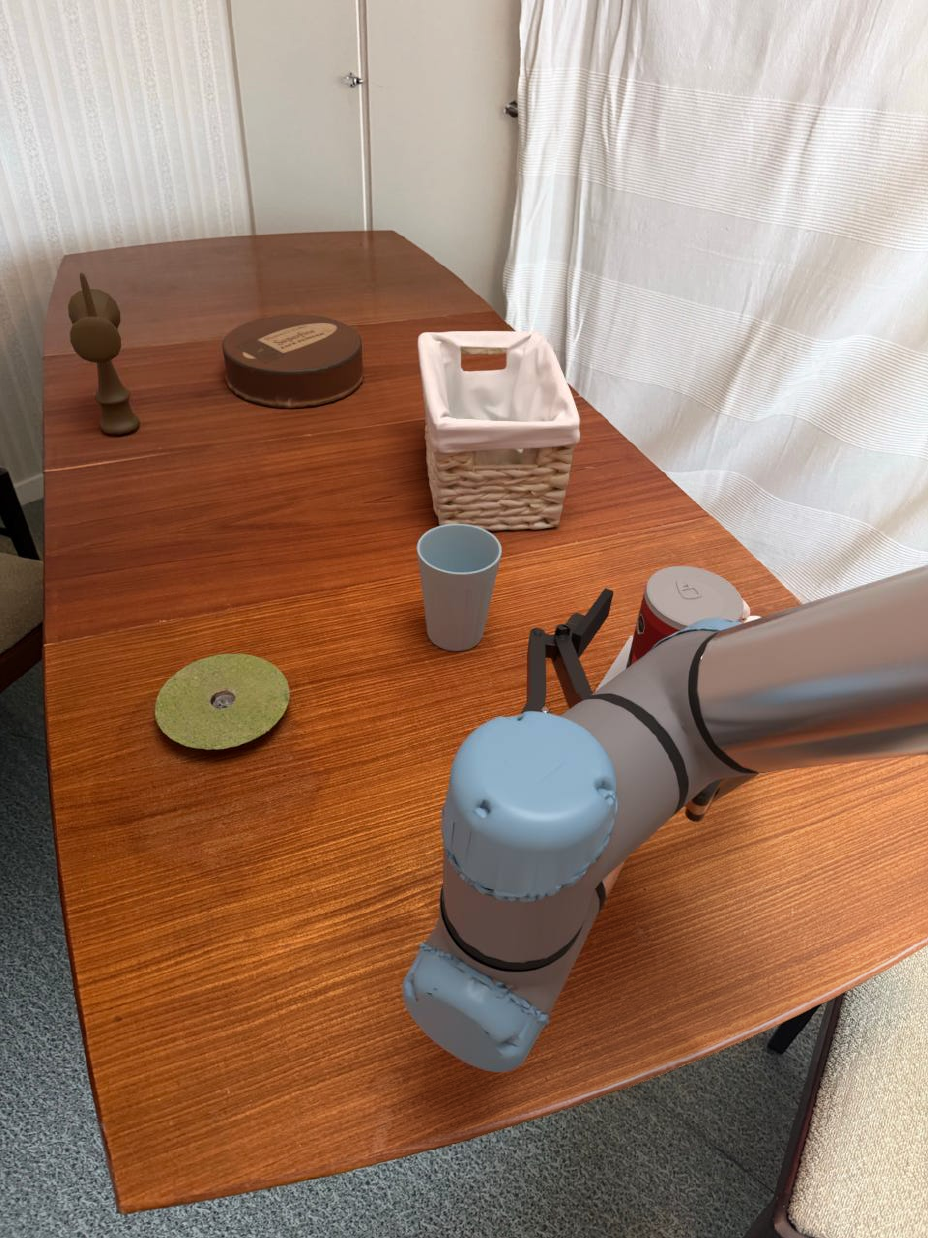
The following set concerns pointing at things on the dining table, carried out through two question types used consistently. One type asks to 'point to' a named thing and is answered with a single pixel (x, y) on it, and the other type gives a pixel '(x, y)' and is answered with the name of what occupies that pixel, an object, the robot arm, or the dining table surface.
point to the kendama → (102, 354)
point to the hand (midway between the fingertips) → (685, 631)
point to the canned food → (681, 605)
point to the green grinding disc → (222, 701)
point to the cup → (457, 583)
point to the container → (293, 360)
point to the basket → (497, 430)
